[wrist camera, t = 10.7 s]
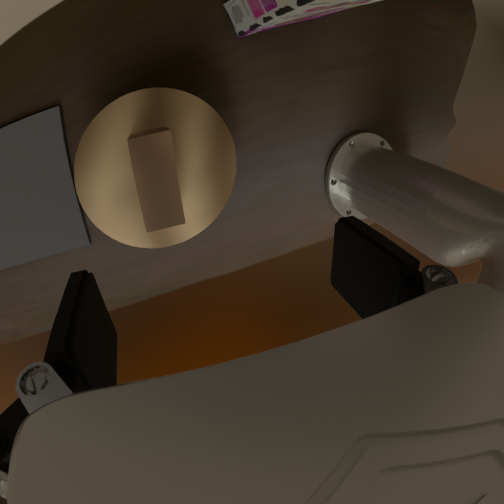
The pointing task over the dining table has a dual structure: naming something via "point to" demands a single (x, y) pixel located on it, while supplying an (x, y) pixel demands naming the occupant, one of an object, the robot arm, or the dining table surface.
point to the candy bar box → (281, 12)
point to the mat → (37, 191)
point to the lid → (155, 167)
